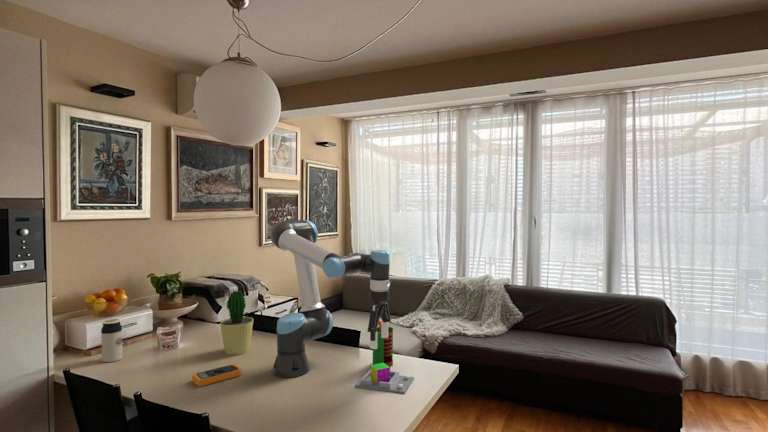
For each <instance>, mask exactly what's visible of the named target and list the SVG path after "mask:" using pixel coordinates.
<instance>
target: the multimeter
mask: <svg viewBox="0 0 768 432" xmlns="http://www.w3.org/2000/svg"><path fill="white" fill-rule="evenodd" d="M241 374H242V367H241V366H239V365H237V364H234V363H233V364H227V365H224V366H220V367H217V368H211V369H208V370H207V369H206V370H204V371H199V372H195V373H193V374H192V375H191V381H192V382H193V383H194V384H195V385H196V386H197V387H198V388H199V387H205V386H208V385H211V384H214V383H218V382H219V383H220V382H221V381H225V380H230V379H234V378H237V376H238V377H240V376H241ZM239 375H240V376H239ZM233 377H234V378H233Z"/></svg>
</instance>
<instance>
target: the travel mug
mask: <svg viewBox="0 0 768 432" xmlns="http://www.w3.org/2000/svg"><path fill="white" fill-rule="evenodd" d="M121 321H122V319H121V318H110V319H106V320H103V321H101V324H102V327H101V330H100V331H101V333H100V335H101V361H102V362H104V363H113V362H117V361H119V360H122V359H123V326H122V324H121Z"/></svg>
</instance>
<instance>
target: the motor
mask: <svg viewBox="0 0 768 432" xmlns="http://www.w3.org/2000/svg"><path fill="white" fill-rule="evenodd" d="M381 322H383V321H382V318H379V322H378V326H377V330H376V332H377V349H372V365H374V364H379V363H385V364H386V365H388V366H389V367H390V368H392V367H393V365H394V359H393V358H394V357H393V356H394V355H393V354H394V353H393V351H394V350H393V349H394V327H392V326H388V338H381ZM391 366H392V367H391Z"/></svg>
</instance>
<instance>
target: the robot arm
mask: <svg viewBox="0 0 768 432" xmlns="http://www.w3.org/2000/svg"><path fill="white" fill-rule="evenodd" d="M269 238H270V241H271V243H272V244H273V245H274V246H275V247H276V248H278V249H280V250H281V251H284V252H285V251H288V252H289V253H292V254H293V258H294V259H293V260H294V265H295V271H296V277H297V278H296V279H297V284H298V289H299V295H300V301H301V302H300V303H301V308H300V310H299V312H293V313H287V314H285V315H283V316H281V317H279V318H278V320H277V322H276V337H277V338H276V346H277V348H276V350H277V351H276V352H277V353H276V356H275V359H274V360H275V361H274V363H273V368H272V373H273V375H274V376H276V377H280V378H295V377H300V376H303V375H305V374H308V372H309V371H310V362H309V359H308V355H307V354H306V343H308V342H310V341H313V340H316V339H321V338H323V337H325V336H327V335H328V334H330V333H331V332H332V330H333V329H332V328H333V326H334V319H333V318H334V317H333V315H332V313H331V312H330V311H329V310H328V309H326V305H325V304H324V303H322V302H321V301H322V300H321V295H320V289H319V283H318V278H317V271H316V266H317V267H319V268H321V270H322V271H323V273H324V275H325V276H326V277H327V278H331V279H332V278H340V277H344V276H349V275H354V274H359V273H362V274H369V276H370V277H369V278H370V280H369V283H370V285H369V289H370V291H369V299H370V301H373V302H374V304H372V305H370V314H369V321H368V326H367V331H366V332H368V333H369V349H371V350H373V349H377V332H376V330H377V327H379V325H378V322H379V319H381V320H382V322H381V338H388V327H389V323H390V322H391V315H390V309H389V300H390V290H389V289H390V285H391V281H390V265H391V264H390V263H391V262H390V261H391V259H390V252H389V251H388V250H381V249H380V250H379V249H375V250H371V251H370V254H366V253H359V252H352V253H349V254H347V255H339V254H337V253H335V252H333V251H331V250H329V249H327V248H325V247H323V246H321V245H318V244H316V242H317V241H318V238H319V231H318V229H317V227H316V224H315V223H314V222H312V221H311V220H305V219H295V220H293V219H292V220H281V221H278V222H277V223H275V224H273V226H272V228H271V230H270V234H269ZM380 317H381V318H380Z"/></svg>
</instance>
